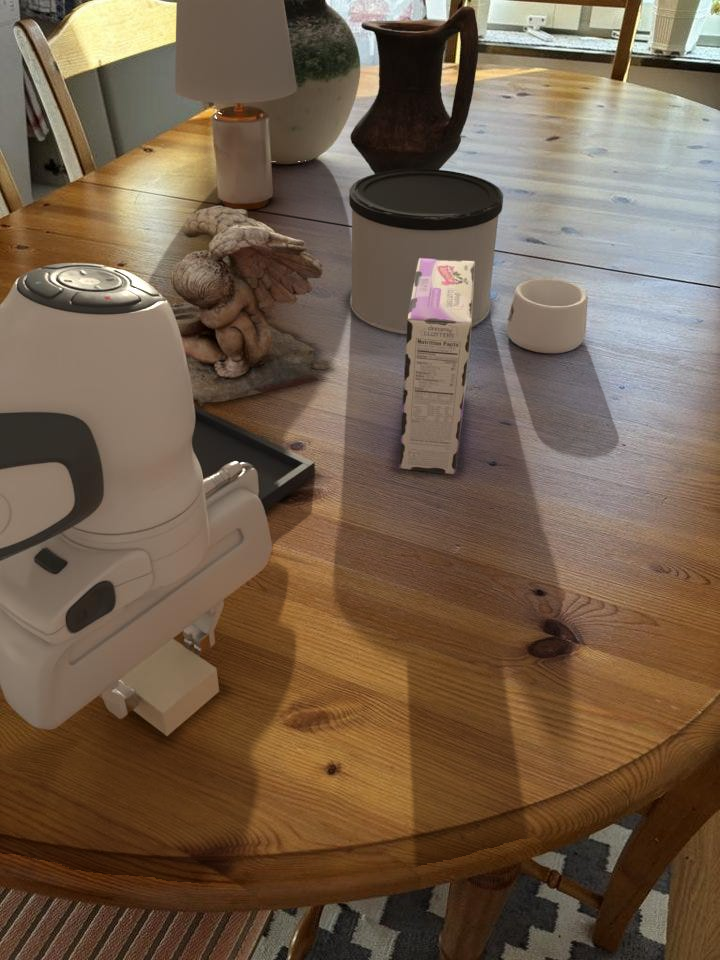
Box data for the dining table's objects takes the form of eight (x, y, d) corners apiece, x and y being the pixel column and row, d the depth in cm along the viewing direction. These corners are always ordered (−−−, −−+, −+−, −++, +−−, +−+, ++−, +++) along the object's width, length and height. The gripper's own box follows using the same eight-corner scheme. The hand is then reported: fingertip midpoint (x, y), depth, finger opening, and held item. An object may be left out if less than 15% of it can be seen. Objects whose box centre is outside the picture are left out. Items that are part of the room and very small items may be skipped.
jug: (327, 199, 147) (326, 1, 130) (387, 173, 160) (393, -12, 142) (433, 226, 138) (447, 15, 120) (487, 195, 150) (508, 1, 132)
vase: (365, 139, 177) (368, -29, 160) (351, 183, 155) (352, -8, 137) (230, 134, 179) (218, -32, 162) (196, 176, 157) (177, -12, 139)
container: (385, 266, 125) (388, 160, 116) (509, 291, 118) (523, 181, 109) (323, 317, 111) (322, 201, 102) (461, 349, 104) (472, 228, 95)
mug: (585, 359, 103) (594, 313, 99) (504, 352, 104) (510, 306, 100) (581, 315, 112) (589, 272, 109) (506, 309, 113) (512, 266, 110)
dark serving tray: (245, 525, 77) (244, 511, 76) (124, 457, 85) (122, 444, 84) (315, 475, 83) (314, 462, 82) (195, 417, 91) (194, 404, 90)
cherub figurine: (145, 339, 105) (123, 193, 95) (284, 314, 111) (278, 174, 101) (183, 410, 92) (163, 250, 82) (337, 377, 98) (337, 224, 88)
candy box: (410, 397, 95) (418, 255, 85) (463, 402, 94) (477, 259, 85) (397, 470, 84) (404, 316, 74) (457, 475, 83) (473, 321, 74)
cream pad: (167, 736, 59) (162, 713, 57) (110, 693, 62) (104, 669, 60) (219, 691, 62) (216, 668, 60) (163, 652, 65) (159, 628, 63)
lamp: (219, 179, 156) (201, -39, 135) (316, 191, 151) (312, -33, 130) (166, 212, 141) (137, -26, 121) (272, 228, 136) (259, -18, 116)
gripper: (221, 433, 61) (235, 578, 69) (-46, 592, 48) (11, 746, 56) (287, 466, 57) (294, 613, 66) (22, 645, 44) (72, 801, 53)
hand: (162, 676), depth 61 cm, fingers open, 6 cm apart
